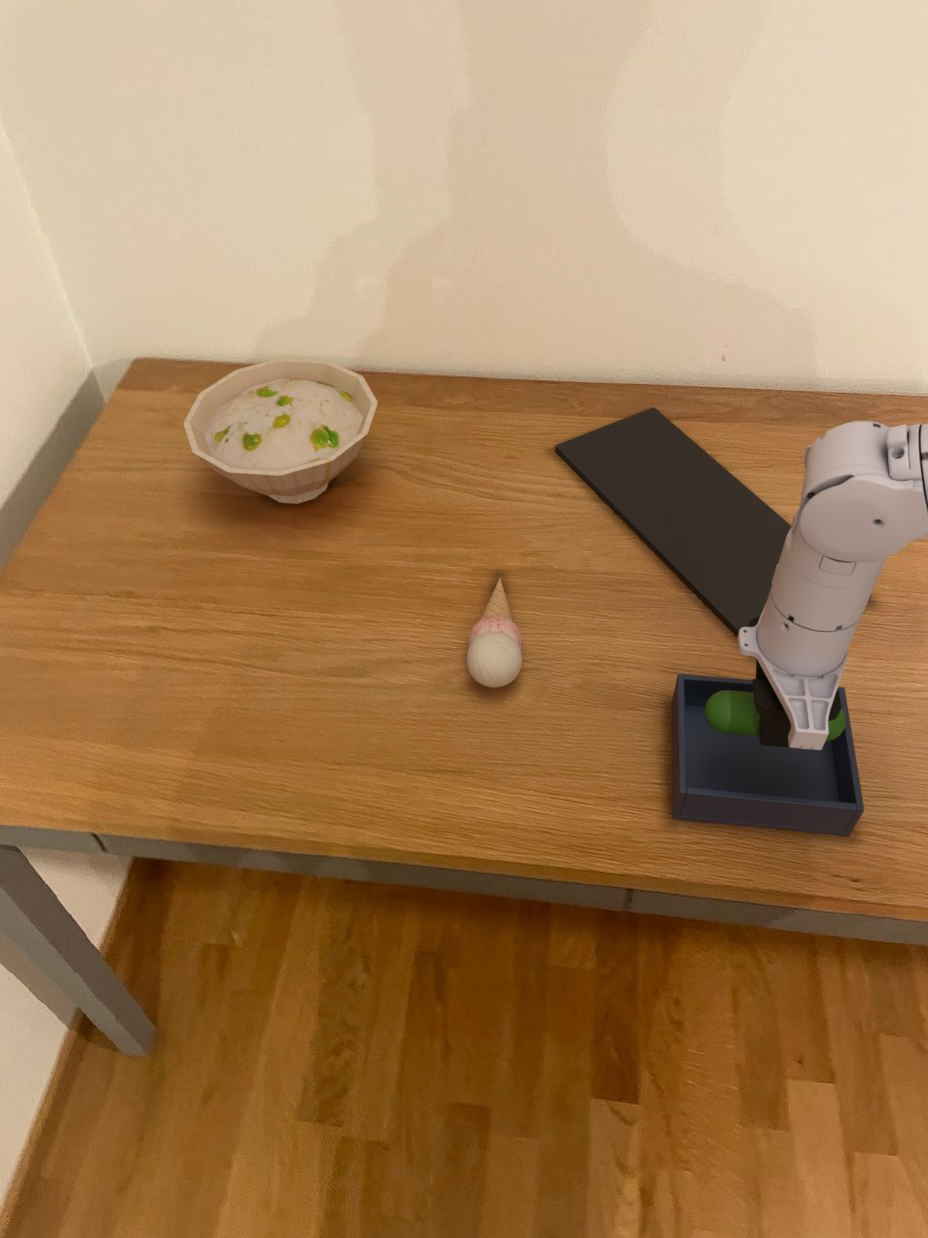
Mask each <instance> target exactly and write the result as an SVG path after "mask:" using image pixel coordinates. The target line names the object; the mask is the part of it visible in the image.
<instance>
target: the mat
mask: <svg viewBox="0 0 928 1238" xmlns="http://www.w3.org/2000/svg"><path fill="white" fill-rule="evenodd" d="M554 452H555V453H556V454H557V455H558V456H559V457H560V458H561V459H562V460H563V461H564V462H565V463H566V464H567V465H568V466H569V467H570V468H571V469H572V470H573V471H574V473H576V474H577V476H578V477H579V478H581V480H583V481H584V482H585V483H586V484H587V486H588V487H590V489H591V490H592V491H593V492H594V493H595V494H596V495H597V496H598V497H599V498H600V499H601V500H602V501H603V502H604V503H605V504H606V505H607V506H608V507H609V508H610V509H611V510H612V511H613V512H614V513H615V514H616V515H617V516H618V517H619V519H621V520H622V521H623V522H624V523H625V524H626V525H627V526H628V527H629V528H630V529H631V530H632V531H633V532H634V533H635V534H636V536H637V537H639V538H640V540H642V541H643V542H644V543H645V545H646V546H648V548H649V549H650V550H651V551H652V552H653V553H654V554H655V555H656V556H657V557H658V558H659V559H660V560H661V561H662V562H663V563H664V564H665V565H666V566H667V567H668V568H669V570H671V571H672V572H673V573H674V574H675V575H676V576H677V578H679V580H681V582H683V583H684V584H685V585H686V587H688V588H689V589H690V590H691V591H692V592H693V593H694V594H695V596H697V597H698V598H699V599H700V601H701V602H702V603H704V605H706V607H707V608H708V609H709V610H710V611H711V612H712V613H713V614H714V615H715V616H716V617H717V618H718V619H719V620H720V621H721V622H722V623H723V625H725V626H726V628H727V629H729V630H730V631H731V632H732V633H733V634H734V635H735V636H736V638H738V634H739V630H740V629H741V628H742V627H748V624H749V622H750V620H752V619H753V618H755V617H760V616H761V614H762V612H763V609H764V607H765V604H766V602H767V599H768V596H769V593H770V589H771V586H772V579H773V576H774V573H775V569H776V566H777V564H778V563H779V559H780V556H781V553H782V550H783V546H784V543H785V540H786V536H787V534H788V532H789V530H790V528H791V527H792V524H790V523H789V522H788V521H786V520H785V518H783V517H782V516H781V515H780V514H779V513H777V512H776V511H775V510H774V509H773V508H771V506H769V505H768V504H767V503H766V502H764V501H763V500H762V499H761V498H760V497H759V496H758V495H756V494H755V493H754V492H753V491H752V490H751V489H750V488H749V487H747V486H746V485H745V484H744V483H743V482H742V481H740V480H739V479H738V478H737V477H736V476H734V474H732V473H731V472H730V471H729V470H728V469H726V468H725V467H724V466H723V465H722V464H721V463H720V462H719V461H717V460H716V459H715V458H713V456H711V455H710V454H709V453H708V452H706V450H704V449H703V448H702V447H701V446H700V445H699V444H698V443H697V442H695V441H694V440H693V439H691V437H689V436H688V435H687V434H686V433H685V432H684V431H682V430H681V428H679V427H678V426H677V425H676V424H674V423H673V422H672V421H671V420H670V419H669V418H667V416H665V415H664V414H663V413H662V412H660V411H659V410H658V409H657V408H656V407H654V406H653V407H650V408H648V409H644V410H643V411H639V412H637V413H635V414H633V415H630V416H627V417H625V418H622V419H619V420H617V421H615V422H614V421H613V422H612V423H609V424H606V425H604V426H602V427H599V428H596V429H594V430H591V431H589V432H586V433H584V434H581V435H579V436H576V437H573V438H571V439H568V440H565V441H564V442H560V443H558V444H556V445H555V446H554ZM871 598H872V594H871V596H870V598H869V600H868V602H870V600H871Z"/></svg>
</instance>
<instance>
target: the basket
mask: <svg viewBox="0 0 928 1238" xmlns="http://www.w3.org/2000/svg"><path fill="white" fill-rule="evenodd" d="M723 690H731V691H743V692H753V679H749V678H748V679H747V678H736V677H735V678H734V677H723V676H710V675H699V674H689V673H688V674H687V673H685V674H684V673H677V675H676V681H675V684H674V690H673V694H672V698H671V772H672V773H671V779H672V780H671V782H672V784H671V786H672V787H671V788H672V791H671V792H672V819H674V820H683V821H693V822H703V823H712V824H713V823H714V824H722V825H723V824H724V825H731V826H742V827H750V828H751V827H752V828H763V829H772V830H781V831H782V830H783V831H790V832H791V831H792V832H799V833H800V832H802V833H812V834H821V835H830V836H831V835H832V836H839V837H850V836H851V834H852V832H853V830H854V829H855V827H856V826H857V823H858V822H859V820H860V818H861V816H862V815H863V813H864V812H865V806H864V800H863V793H862V787H861V781H860V776H859V768H858V763H857V755H856V749H855V743H854V737H853V732H852V731H853V730H852V726H851V720H850V719H851V718H850V712H849V706H848V701H847V695H846V688H845V687H843V686H838V688H837V690H839V695H840V701H841V709H842V710H843V712H844V714H845V727H844V730H843V731H842V733H841V734H840V735H839V736H838V737H837V738H835V739H833V740H831V741H827V742H825V743H824V745H823V747H822V750H813V749H811V750H810V749H800V748H791V747H777V746H765V745H761V744H760V737H759V736H749V735H738V734H726V733H721V732H719V731H716V730H715V729H713V728H712V727H711V726H710V725H709V723H708V722H707V719H706V717H705V706H706V703H707V701H708V699H709V698H710V697H711V696H712V695H713V694H715V693H717V692H719V691H723Z"/></svg>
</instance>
